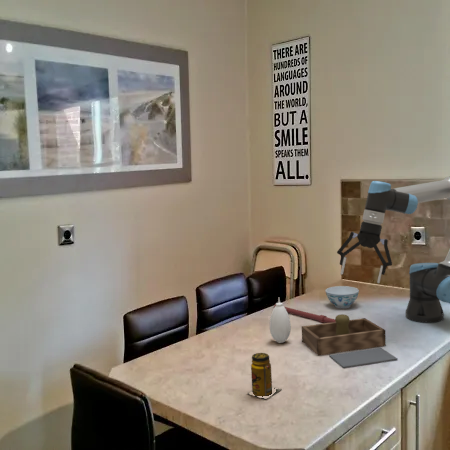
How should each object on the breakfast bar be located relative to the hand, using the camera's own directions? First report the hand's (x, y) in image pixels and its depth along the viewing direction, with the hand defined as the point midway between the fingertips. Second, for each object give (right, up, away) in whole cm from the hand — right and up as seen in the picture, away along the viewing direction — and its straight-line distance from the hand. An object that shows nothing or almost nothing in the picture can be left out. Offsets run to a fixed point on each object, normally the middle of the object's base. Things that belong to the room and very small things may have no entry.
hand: (359, 278), depth 201 cm
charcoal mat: (-3, -26, -15) cm, 30 cm away
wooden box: (-6, -24, 0) cm, 25 cm away
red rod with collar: (-13, -21, +31) cm, 39 cm away
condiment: (-38, -31, -37) cm, 62 cm away
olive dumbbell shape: (-6, -25, 0) cm, 25 cm away
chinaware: (+4, -18, +47) cm, 51 cm away
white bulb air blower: (-29, -25, +5) cm, 39 cm away
